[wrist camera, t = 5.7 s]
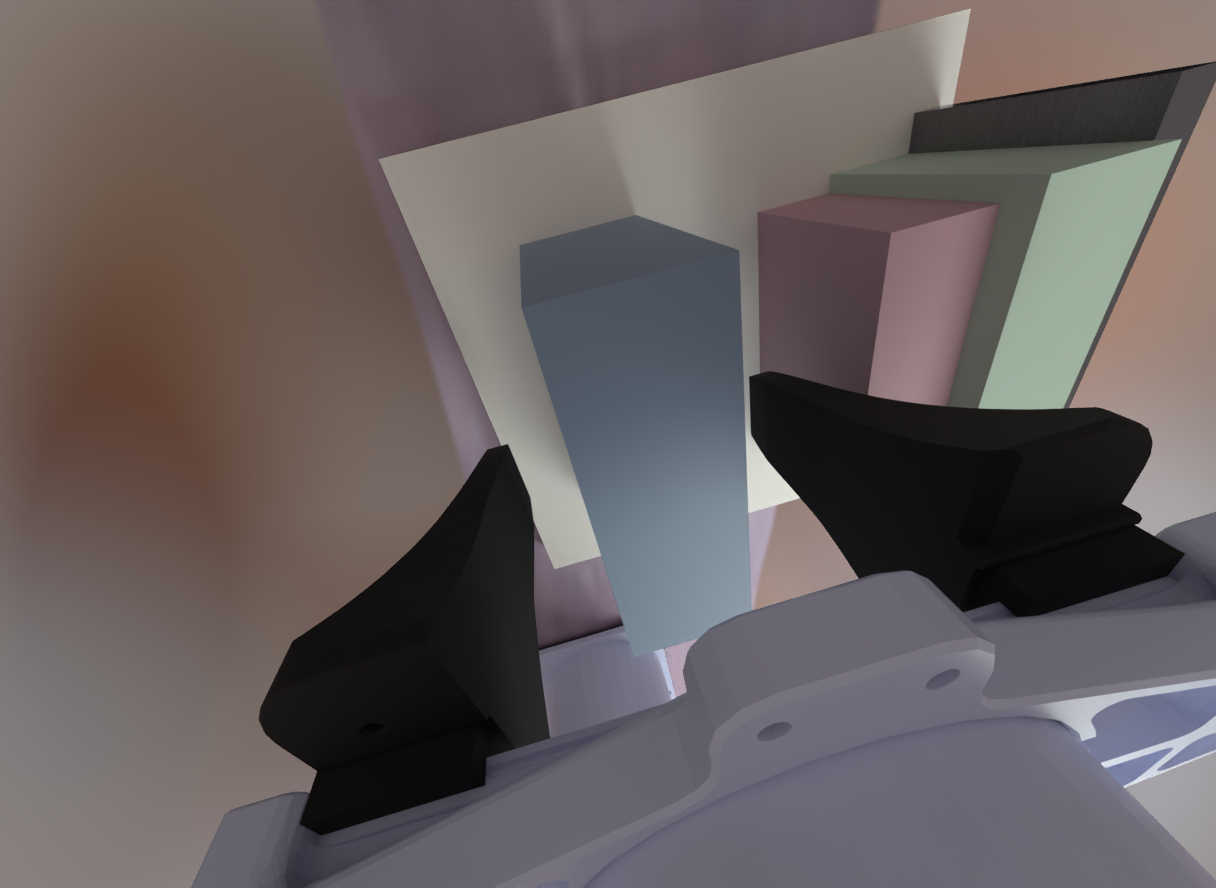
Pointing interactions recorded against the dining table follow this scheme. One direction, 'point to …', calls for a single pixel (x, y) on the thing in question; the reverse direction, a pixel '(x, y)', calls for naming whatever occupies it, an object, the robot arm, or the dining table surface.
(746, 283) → the shelf board
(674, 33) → the dining table surface
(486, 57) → the dining table surface
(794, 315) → the books
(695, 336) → the slate book
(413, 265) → the dining table surface
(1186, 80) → the bookend
